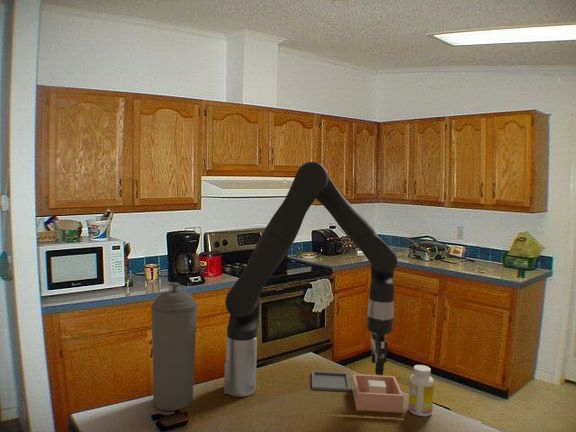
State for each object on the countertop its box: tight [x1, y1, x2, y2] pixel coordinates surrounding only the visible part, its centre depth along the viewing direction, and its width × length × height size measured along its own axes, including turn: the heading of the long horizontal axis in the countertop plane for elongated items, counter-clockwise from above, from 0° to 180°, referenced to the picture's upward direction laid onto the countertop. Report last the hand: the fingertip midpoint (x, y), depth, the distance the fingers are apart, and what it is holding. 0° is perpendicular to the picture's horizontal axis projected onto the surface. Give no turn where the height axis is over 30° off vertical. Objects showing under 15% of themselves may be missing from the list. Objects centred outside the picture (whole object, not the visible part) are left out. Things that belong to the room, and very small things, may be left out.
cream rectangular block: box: [367, 380, 386, 394], centre depth 134 cm, size 5×4×5 cm
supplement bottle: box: [408, 364, 435, 417], centre depth 129 cm, size 7×7×13 cm
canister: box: [150, 281, 198, 412], centre depth 129 cm, size 13×13×35 cm
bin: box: [351, 373, 404, 414], centre depth 134 cm, size 13×13×6 cm
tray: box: [311, 370, 352, 393], centre depth 146 cm, size 12×12×1 cm
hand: (376, 368), depth 134 cm, fingers open, 8 cm apart
